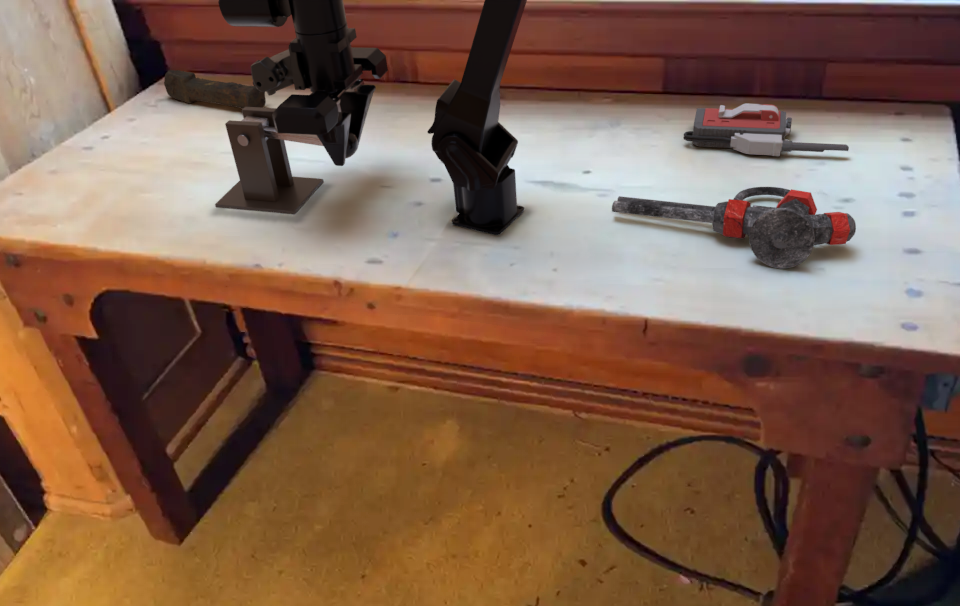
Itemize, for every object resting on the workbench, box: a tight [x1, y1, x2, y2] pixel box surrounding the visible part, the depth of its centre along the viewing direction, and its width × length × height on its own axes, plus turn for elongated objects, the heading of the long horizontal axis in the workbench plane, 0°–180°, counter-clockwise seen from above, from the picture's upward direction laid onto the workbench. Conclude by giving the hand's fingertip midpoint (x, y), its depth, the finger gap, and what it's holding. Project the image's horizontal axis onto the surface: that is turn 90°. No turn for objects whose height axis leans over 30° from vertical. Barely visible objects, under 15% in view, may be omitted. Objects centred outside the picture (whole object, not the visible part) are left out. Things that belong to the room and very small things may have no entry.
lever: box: [241, 116, 359, 160], centre depth 108 cm, size 15×4×4 cm, turn 73°
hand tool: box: [163, 69, 267, 110], centre depth 140 cm, size 19×4×5 cm, turn 60°
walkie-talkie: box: [683, 103, 850, 157], centre depth 115 cm, size 9×4×20 cm
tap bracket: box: [214, 107, 324, 215], centre depth 111 cm, size 11×8×11 cm
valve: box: [611, 186, 857, 269], centre depth 100 cm, size 6×26×15 cm
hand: (346, 157), depth 107 cm, fingers closed on lever, 3 cm apart
